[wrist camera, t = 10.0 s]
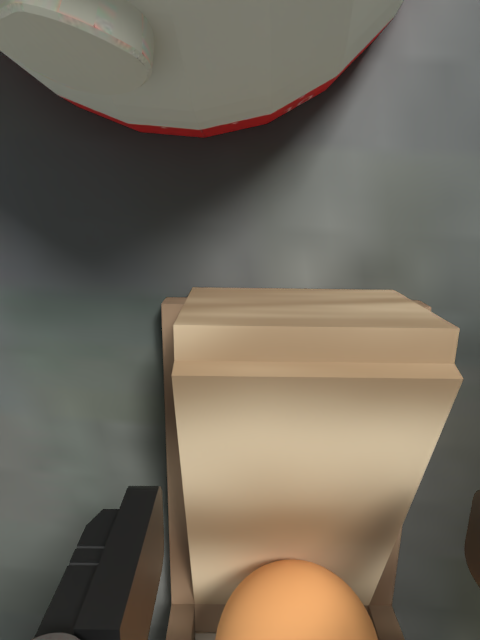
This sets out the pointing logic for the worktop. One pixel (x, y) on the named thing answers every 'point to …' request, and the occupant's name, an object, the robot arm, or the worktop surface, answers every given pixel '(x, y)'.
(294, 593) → the ball
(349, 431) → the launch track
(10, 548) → the worktop surface
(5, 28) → the white dome
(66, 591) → the robot arm
